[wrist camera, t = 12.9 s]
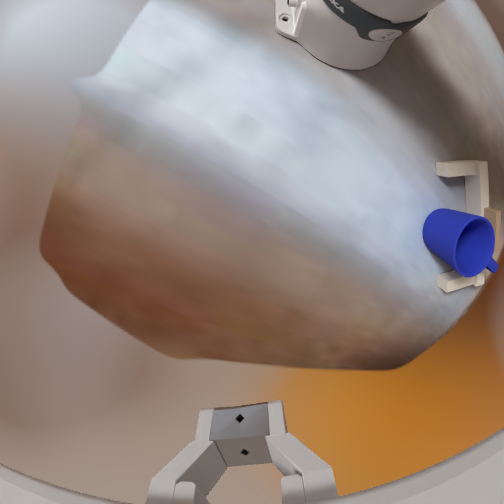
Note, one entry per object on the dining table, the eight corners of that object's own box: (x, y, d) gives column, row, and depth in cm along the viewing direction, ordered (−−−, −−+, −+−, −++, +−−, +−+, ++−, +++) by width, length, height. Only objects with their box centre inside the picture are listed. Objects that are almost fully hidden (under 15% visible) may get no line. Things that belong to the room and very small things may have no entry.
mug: (452, 272, 42) (487, 296, 33) (407, 239, 40) (443, 262, 31) (475, 230, 40) (513, 248, 30) (432, 192, 38) (473, 204, 29)
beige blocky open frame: (435, 162, 37) (463, 165, 30) (471, 159, 36) (500, 163, 30) (437, 285, 43) (459, 303, 36) (470, 275, 42) (494, 291, 36)
